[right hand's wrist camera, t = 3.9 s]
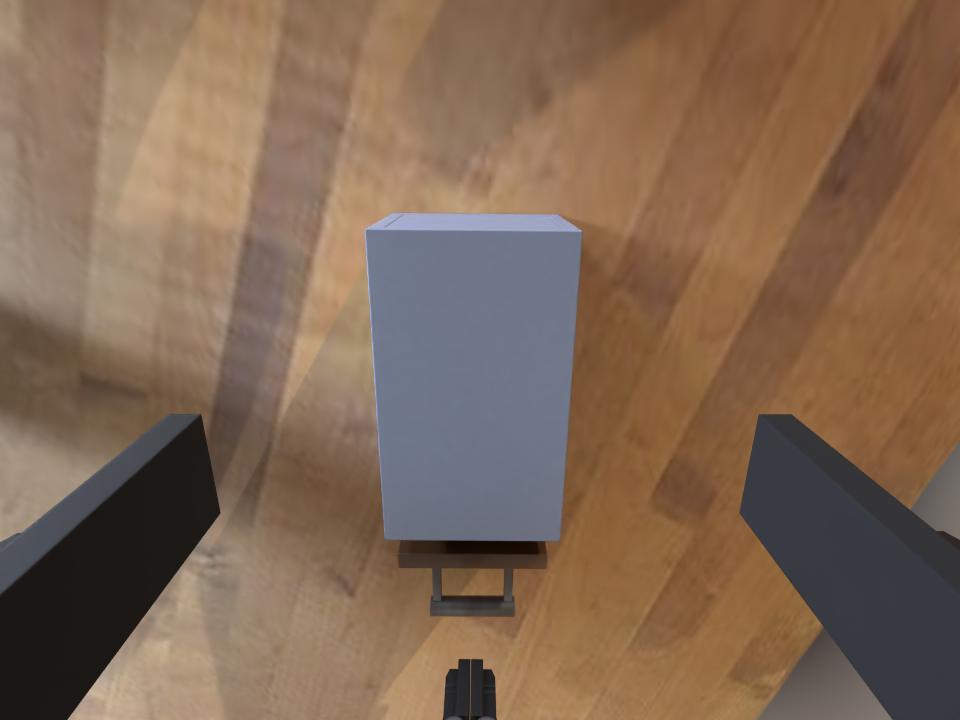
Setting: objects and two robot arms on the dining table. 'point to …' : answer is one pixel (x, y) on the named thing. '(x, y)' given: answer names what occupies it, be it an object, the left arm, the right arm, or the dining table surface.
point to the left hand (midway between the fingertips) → (471, 669)
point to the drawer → (472, 556)
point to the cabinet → (473, 372)
